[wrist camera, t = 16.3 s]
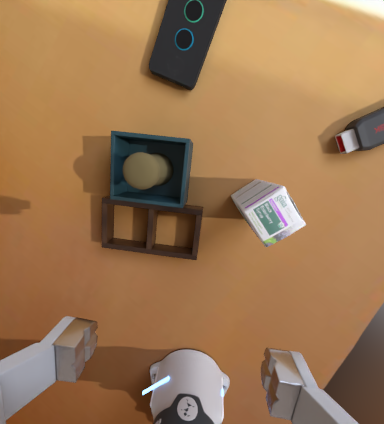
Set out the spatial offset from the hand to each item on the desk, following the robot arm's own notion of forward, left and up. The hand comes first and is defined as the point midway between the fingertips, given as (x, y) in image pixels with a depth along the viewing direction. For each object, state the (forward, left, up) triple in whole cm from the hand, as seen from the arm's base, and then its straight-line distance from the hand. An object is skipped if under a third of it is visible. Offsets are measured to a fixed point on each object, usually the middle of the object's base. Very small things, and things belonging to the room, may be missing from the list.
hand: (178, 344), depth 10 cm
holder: (-5, +9, -31) cm, 33 cm away
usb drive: (+17, -27, -31) cm, 45 cm away
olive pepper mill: (+6, +9, -31) cm, 33 cm away
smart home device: (+31, +5, -31) cm, 44 cm away
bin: (+6, +9, -31) cm, 33 cm away
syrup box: (+3, -9, -31) cm, 33 cm away
